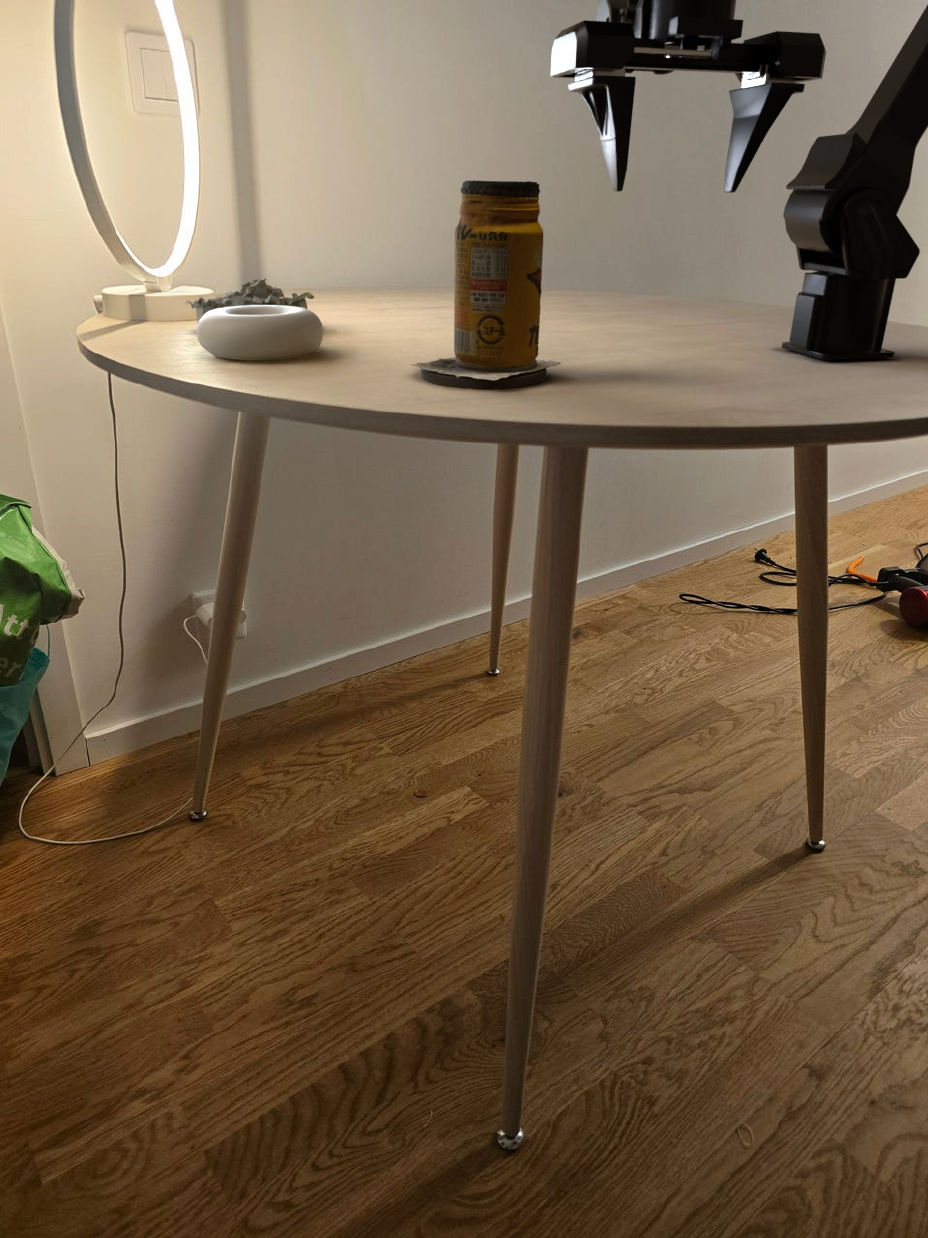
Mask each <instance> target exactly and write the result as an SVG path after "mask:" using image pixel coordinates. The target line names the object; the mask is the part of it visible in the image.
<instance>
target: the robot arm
mask: <svg viewBox="0 0 928 1238" xmlns="http://www.w3.org/2000/svg"><path fill="white" fill-rule="evenodd" d="M736 6H737V0H598V2H597V9H596V10H597V11H596V20H585V19H584V20H582V21H579V22H577V23H575V24H573V25H570V26H568V27H566V28H564V29H562V30H560V32H559V33H558V34H557V35H556V37H555V38H554V40H553V44H552V47H551V53H550V56H551V57H550V75H549V76H550V78H554V79H574V81H572V82H568V83H567V89H568V92H570V93H578V94H579V95H580V96H581V98H582V99H583V101H584V102H585V104H586V106H587V107H588V109H589V111H590V113H591V115H592V119H593V121H594V123H595V126H596V130H597V133H598V137H599V141H600V145H601V149H602V154H603V158H604V162H605V166H606V169H607V174H608V179H609V183H610V187H611V190H612V192H615V193H616V192H617V193H618V192H620V193H621V192H623V190H624V186H625V181H626V176H627V172H628V165H629V164H628V163H629V162H628V161H629V153H630V144H631V143H630V141H631V132H632V123H633V121H632V120H633V113H634V101H635V91H636V80H637V77H636V76H627V75H626V74H633V72H648V73H649V72H651V73H653V74H654V75H658V76H660V75H661V76H663V75H669V74H671V73H673V72H675V71H677V72H696V73H697V72H698V73H699V72H700V73H701V72H702V73H722V74H724V73H725V74H734V75H735V77H736V78H737V80H738V81H739V83H740V87H739V88H735V89H730V90H728V94H729V99H730V103H731V108H732V112H733V113H732V114H733V116H732V122H731V129H730V136H729V141H728V142H729V143H728V149H727V156H726V162H725V170H724V187H723V188H724V190H723V191H724V193H727V194H729V193H731V194H734V193H736V191H737V190H738V188H739V186H740V184H741V182H742V181H743V179H744V177H745V175H746V173H747V171H748V169H749V168H750V166H751V164H752V162H753V160H754V158H755V157H756V154H757V153H758V151H759V149H760V147H761V145H762V143H763V141H764V140H765V138H766V136H767V134H768V133H769V131H770V130H771V128H772V127H773V125H774V124H775V122H776V120H777V119H778V118H779V116H780V114H781V113H782V111H783V109H784V108H785V106H786V105H787V103H788V102H789V101H790V99H791V97H793V95H799V94H803V93H804V92H805V87H806V84H805V83H807V82H811V81H817V80H822V79H823V74H824V69H825V62H826V58H827V57H826V56H827V49H826V47H825V44H824V42H823V39H822V37H821V34H820V33H819V32H801V31H800V32H799V31H785V30H784V31H783V30H782V31H781V30H776V31H771V32H767V33H765V34H762V35H758V36H755V37H750V38H747V39H744V40H743V42H733V41H734V40H737V39H741V38H742V37H743V35H742V34H743V27H744V19H736V18H735V15H736ZM927 129H928V4H927V5H926V6H925V8H924V10H923V12H922V13H921V15H920V16H919V18H918V20H917V22H916V23H915V25H914V26H913V28H912V30H911V32H910V33H909V35H908V36H907V38H906V40H905V42H904V43H903V45H902V46H901V48H900V50H899V52H898V53H897V55H896V57H895V58H894V60H893V62H892V63H891V65H890V66H889V68H888V70H887V72H886V73H885V75H884V77H883V79H881V81H880V83H879V85H878V87H877V88H876V90H875V91H874V93H873V94H872V97H871V98H870V100H869V101H868V104H867V105H866V107H865V108H864V110H863V112H862V113H861V115H860V117H859V118H858V119H857V121H856V122H855V123H854V124H853V126H851V128H849V129H848V130H847V131H846V132H845V133H838V134H831V135H822V136H821V135H820V136H817V137H816V139H815V140H814V142H813V144H812V145H811V146H810V148H809V150H808V153H807V156H806V158H805V160H804V163H803V165H802V167H801V169H800V170H799V172H798V173H797V174H796V176H794V178H793V179H791V181H789V182H788V183H787V184H786V186H785V188H786V190H792V192H791V193H789V196H788V198H787V200H786V203H785V205H784V209H783V215H782V216H783V219H784V224H785V231H786V233H787V235H788V238H789V240H790V241H791V242H792V243H793V245H795V249H796V256H797V261H798V262H797V263H798V267H799V270H802V271H812V272H804V276H803V282H802V289H801V291H799V292H798V293H797V295H796V299H795V305H794V310H793V317H792V323H791V329H790V333H789V334H790V336H789V341H782V343H781V349H785V350H788V351H791V352H795V353H799V354H802V355H806V356H808V357H812V358H815V359H820V360H825V361H834V360H835V361H836V360H837V361H838V360H861V359H862V360H863V359H887V358H894V356H895V351H894V350H890V349H887V348H882V347H883V345H884V339H885V334H886V330H887V325H888V319H889V314H890V310H891V305H892V301H893V296H894V291H895V286H896V281H897V280H904V279H907V278H908V277H909V274H910V273H911V271H912V269H913V267H914V265H915V263H916V262H917V259H918V257H919V256H920V253H921V249H920V247H919V246H918V244H917V243H916V242H915V240H914V239H913V237H912V236H911V234H910V233H909V231H908V230H907V228H906V227H905V226H904V224H903V222H902V221H901V219H900V217H899V216H898V213H899V211H900V208H901V206H902V204H903V202H904V200H905V198H906V195H907V193H908V191H909V189H910V185H911V179H912V173H913V167H914V161H915V155H916V150H917V147H918V145H919V143H920V141H921V139H922V137H923V136H924V134H925V132H926V131H927Z"/></svg>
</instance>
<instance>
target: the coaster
mask: <svg viewBox="0 0 928 1238" xmlns="http://www.w3.org/2000/svg"><path fill="white" fill-rule="evenodd" d="M450 358H451V359H452V358H453V357H450ZM447 359H449V358H447ZM420 376H421V378H422V379H423V380H424V381H427V382H429V383H433V384H437V385H441V386H445V387H455V388H464V389H509V388H520V387H526V386H527V387H528V386H531V385H536V384H538V383H539V384H540V383H541V382H544V381H545V380H546V379H547V368H544V369H540V370H537V371H533V372H526V373H519V374H517V375H510V376H509V377H506V378H500V379H498V380H488V379H476V378H472V377H467V376H459V377H456V376H455V375H451V374H444V373H438V372H436V371H430V370H426V369H420Z"/></svg>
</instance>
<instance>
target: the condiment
mask: <svg viewBox="0 0 928 1238" xmlns="http://www.w3.org/2000/svg"><path fill="white" fill-rule="evenodd" d="M459 190H460V193H461V203H460V205H459V206H460V207H459V211H458V212H459V215H460V217H459V221H458V223H457V225H456V226H455V229H454V280H453V281H454V286H453V288H454V289H453V290H454V293H453V294H454V295H453V296H454V297H453V298H454V299H453V304H454V307H453V312H454V314H453V318H454V319H453V338H454V339H453V351H454V356H453V357H450V358H449V359H448V358H438V359H436V360H431V361H428V362H416V363H413V364H410V366H411V367H417V368H418V369H420V370H421V369H426V370H430V371H436V372H438V373H444V374H451V375H455V376H456V377H459V376H467V377H472V378H476V379H488V380H498V379H500V378H506V377H509V376H510V375H517V374H519V373H526V372H533V371H537V370H540V369H544V368H546V369H549V368H551V367H556V366H559V365H561V364H562V362H561V361H554V360H553V361H552V360H544V359H543V360H542V359H541V360H540V359H537V358H538V356H539V342H540V341H539V339H540V323H541V320H540V319H541V317H540V316H541V296H542V276H543V259H544V258H543V256H544V255H543V253H544V229H543V227H542V226H541V224H540V222H539V216H540V214H541V208H540V203H539V201H540V193H541V190H540V183H538V182H537V181H529V180H528V181H527V180H526V181H516V180H514V181H513V180H512V181H510V180H508V181H507V180H475V179H474V180H464V181H463V182H462V184H461V188H460V189H459ZM451 358H452V359H451Z"/></svg>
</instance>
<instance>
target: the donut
mask: <svg viewBox="0 0 928 1238" xmlns="http://www.w3.org/2000/svg"><path fill="white" fill-rule="evenodd" d="M195 331H196V334H195V335H196V338H197V341H198V343H199V345H200V346H201V347H202V348H203V349H204V350H205V351H206V352H207V353H209V354H210V355H213V356H215V357H217V358H223V359H228V360H238V361H239V360H240V361H271V360H272V361H274V360H285V359H290V358H291V359H293V358H298V357H303V356H306V355H308V354H310V353H312V352H314V351H316V350H317V349H318V348H319V347H320V346H321V344H322V341H323V339H324V328H323V323H322V321H321V319H320V317H319V316H318V315H317V314H316V313H315V312H314V311H312V310H310V309H308V308H307V309H305V308H301V307H294V306H282V305H246V306H233V307H225V308H218V309H214V310H211V311H209V312H207V313H205V314H204V315H203V317H202V318H201V319H200V320H199V322H198V323H197V325H196V330H195Z"/></svg>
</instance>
